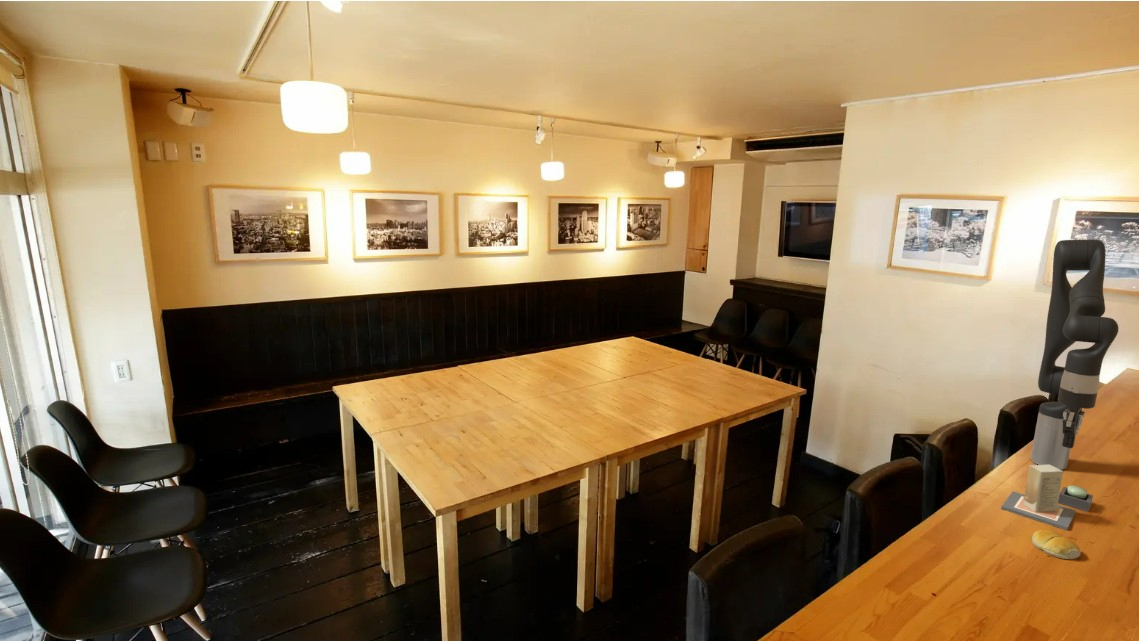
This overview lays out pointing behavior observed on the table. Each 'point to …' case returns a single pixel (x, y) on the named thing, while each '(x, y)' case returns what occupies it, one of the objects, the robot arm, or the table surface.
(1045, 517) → the picture board
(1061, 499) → the button housing
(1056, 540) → the bread roll
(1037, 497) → the skincare box
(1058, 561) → the table surface
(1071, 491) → the button
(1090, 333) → the robot arm
